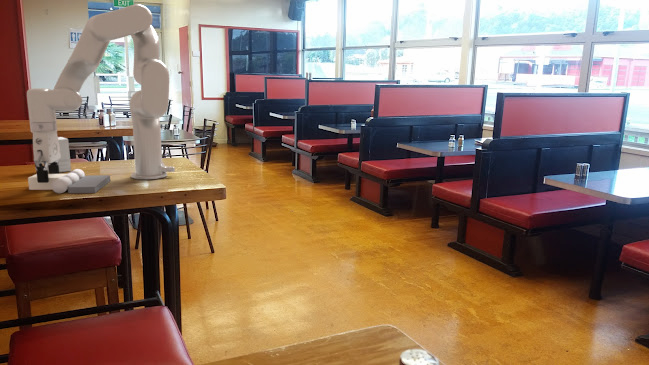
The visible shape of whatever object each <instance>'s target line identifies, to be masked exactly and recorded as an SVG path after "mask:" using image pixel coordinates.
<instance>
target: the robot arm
mask: <svg viewBox="0 0 649 365" xmlns="http://www.w3.org/2000/svg"><path fill="white" fill-rule="evenodd" d="M152 24H153V14H152V12H151V10H150V9H149V8H148V7H147V6H146V5H143V4H139V3H136V4H132V5H127V6H125V7H122V8H117V9H115V10H112V11H111V10H110V11H108V12H104V13H103V12H102V13H100V14H96V15H92V16H91V17H89V18H88V20H87V21H86V22H85V25H84V28H83V29H82V31H81V34H80V36H79V39H78V41H77V43H76V45H75V46H74V49H73V51H72V52H71V55H70V56H69V59H68V60H67V63H66V64H65V66H64V68H63V69H62V71H61V73H60V75H59V76H58V78H57V81H56V83H55V86H54V88H53V89H50V88H44V87H43V88H29V89H28V90H27V91H26V100H27V109H28V119H29V127H30V133H32V150H33V161H34V162H33V163H34V166H35V171H36V174H37V181H38V183H48V182H49V178H48V174H61V172H59V165H58V164H59V161H58V160H59V159H60V158H61V154H60V147H59V140H58V137H59V136H58V123H57V114H56V111H60V112H75V111H77V110H78V109H79V108H81V107H82V104H83V97H82V95H81V93H80V91H81V89H82V87H83V85H84V83H85V82H86V80H87V79H88V78H89V77H90V75H92V74H93V73H94V72H95V71H96V70H97V69H98V68H99V66H100V64H101V61H102V59H103V58H104V55H105V53H106V50H107V48H108V47H109V44H110V42H111V41H114V40H117V39H122V38H125V37H128V36H130V37H131V39H132V43H133V71H132V73H133V74H132V75H133V78H134V80H135V82H136V83H137V84H139V85H140V89H139V90H137V91H136V92H134V93H133V94H132V96H131V97H130V100H129V110H130V116H131V121H132V123H131V124H132V133H133V134H132V135H133V136H132V137H133V151H134V152H133V153H134V172H132V173H131V174H130V176H131V178H132V179H135V180H157V179H162V178H166V177H167V176H168V173H174V172H175V166H173V165H172V166H171V165H170V166H166V165H165V163H164V162H163V153H162V152H163V150H162V130H161V129H162V128H161V123H160V122H161V120H160V118H162V117H164V115H165V114H166V112H167V111H168V108H169V107H168V106H169V97H170V72H169V70H168V66H167V65H166V64H165V63H164V62H163V61H162V60H160V41H159V37H158V34H157V32H156V30H155V28H154V27H153V26H152ZM47 163H49V164H50V165H48V170H49V172H48V170H46V169H47Z"/></svg>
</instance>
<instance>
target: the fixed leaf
mask: <svg viewBox="0 0 649 365" xmlns="http://www.w3.org/2000/svg"><path fill="white" fill-rule="evenodd" d="M68 173H75V174H77V175H78V176H79V180H78V181H77V182H75V183H74V184H72V181H71V179H70V178H68V177H61V178H59V179H57V180H55V181H54V182H53V183H52V191H53V192H54V193H56V194H63V193H65V192H66V191H68V194H96V193H97V192H99V191H100V190H101V189H102V188H103V187H105V186H106V185H107V184H108V183H109V182H111V175H109V174H107V175H103V174H101V175H100V174H99V175H85V172H84V170H82V169H80V168H75V169H73V170H71V171H68Z"/></svg>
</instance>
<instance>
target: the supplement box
mask: <svg viewBox="0 0 649 365" xmlns="http://www.w3.org/2000/svg"><path fill="white" fill-rule="evenodd" d="M58 140H59V147H60V154H61V158H60V159H59V160H58V161H59V164H58V165H59V173H65V172H71V171H72V168H71V167H72V166H71V165H72V164H71V156H70V145H69V139H68V138H67V137H63V136H58ZM48 165H50V164H49V163H47V169H46V170H48ZM48 173H49V170H48Z"/></svg>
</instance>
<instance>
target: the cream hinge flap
mask: <svg viewBox="0 0 649 365" xmlns="http://www.w3.org/2000/svg"><path fill="white" fill-rule="evenodd" d="M61 177H68V178H70V179H71V181H72V184H74V183H75V182H77V181H78V180H79V176H78V175H77V174H75V173H69V172H68V173H60V174H49V173H48V178H49V182H48V183H38V181H37V173H36V174H33V175H32V176H31V175H30V176H29V177H27V181H28V190H29V191H30V190H31V191H33V190H34V191H35V190H38V191H39V190H41V191H47V190H52V191H53V189H52V183H53V182H54V181H55V180H57V179H59V178H61Z"/></svg>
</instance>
